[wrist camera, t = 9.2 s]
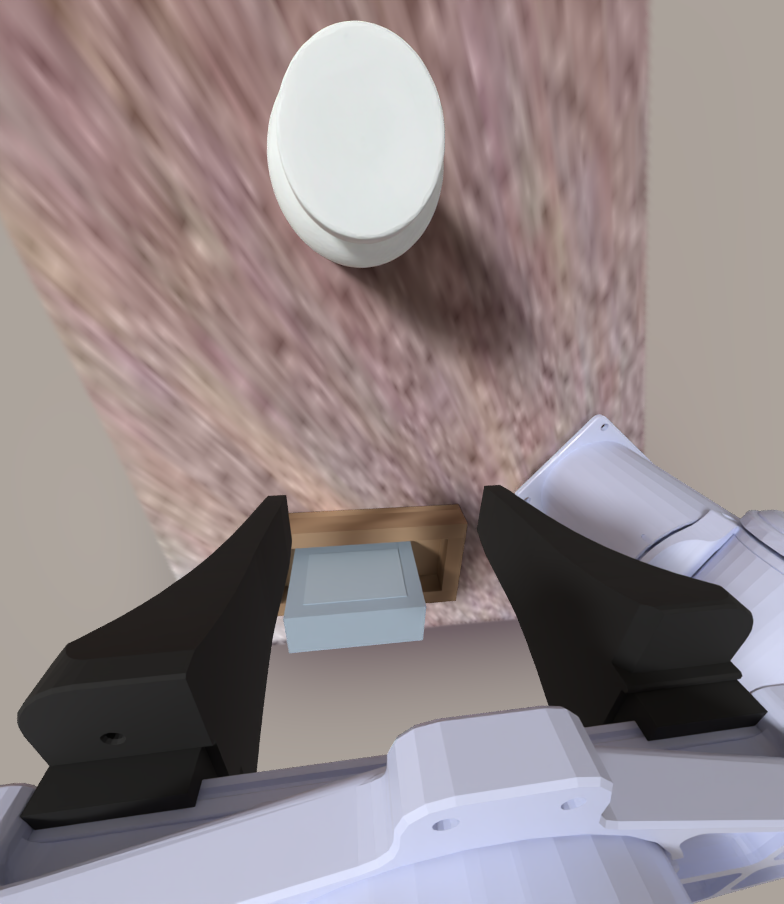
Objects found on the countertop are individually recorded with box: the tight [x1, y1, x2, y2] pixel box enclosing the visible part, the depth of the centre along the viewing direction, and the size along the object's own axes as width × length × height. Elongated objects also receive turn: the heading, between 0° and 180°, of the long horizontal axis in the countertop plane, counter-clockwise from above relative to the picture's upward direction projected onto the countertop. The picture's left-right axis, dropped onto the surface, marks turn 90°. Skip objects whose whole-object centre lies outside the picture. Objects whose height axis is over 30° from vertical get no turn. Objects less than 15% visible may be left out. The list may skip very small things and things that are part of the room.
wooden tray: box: [278, 504, 467, 616], centre depth 26 cm, size 14×7×2 cm, turn 89°
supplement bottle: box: [267, 21, 445, 268], centre depth 12 cm, size 5×5×10 cm
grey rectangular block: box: [283, 541, 426, 653], centre depth 23 cm, size 8×3×6 cm, turn 89°
